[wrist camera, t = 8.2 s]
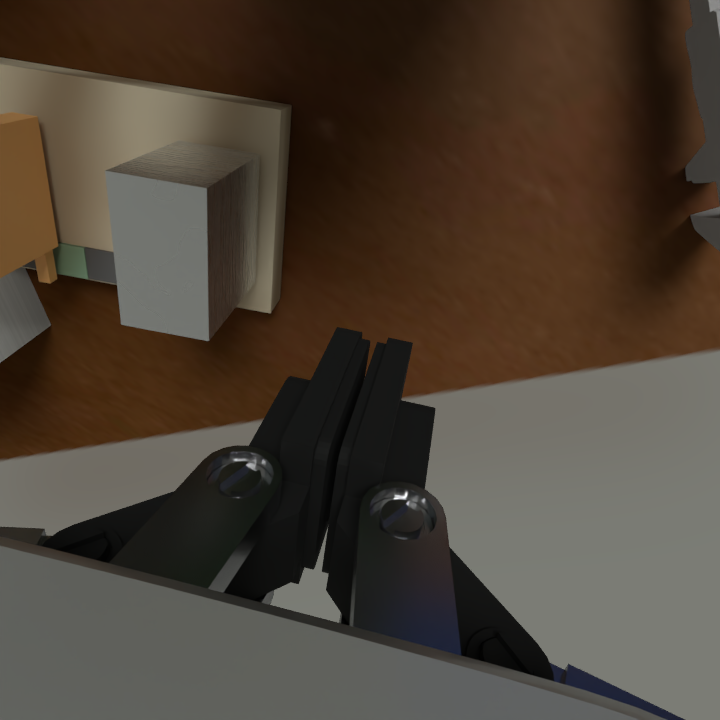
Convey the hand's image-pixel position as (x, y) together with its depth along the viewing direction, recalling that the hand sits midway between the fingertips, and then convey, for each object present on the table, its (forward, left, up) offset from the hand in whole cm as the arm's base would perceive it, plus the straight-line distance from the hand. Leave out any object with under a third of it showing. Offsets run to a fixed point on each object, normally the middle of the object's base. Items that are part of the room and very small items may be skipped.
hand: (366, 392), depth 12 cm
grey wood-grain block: (+7, 0, -10) cm, 12 cm away
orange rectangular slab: (+14, +1, -10) cm, 18 cm away
